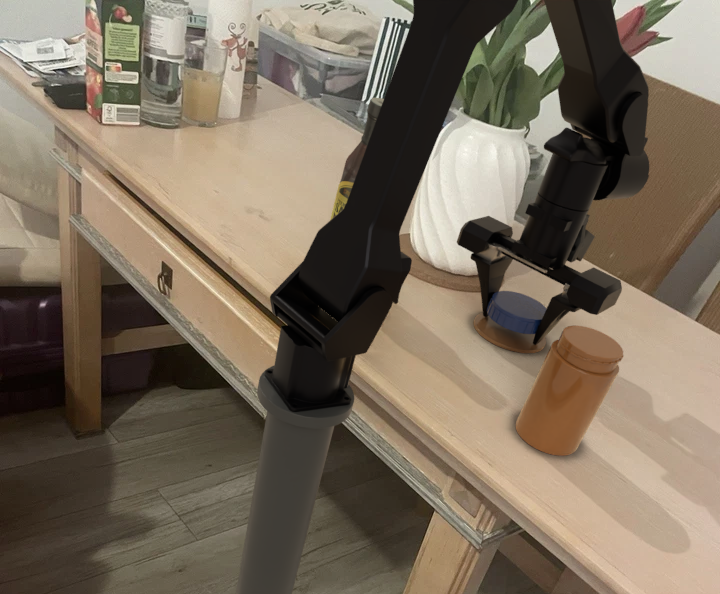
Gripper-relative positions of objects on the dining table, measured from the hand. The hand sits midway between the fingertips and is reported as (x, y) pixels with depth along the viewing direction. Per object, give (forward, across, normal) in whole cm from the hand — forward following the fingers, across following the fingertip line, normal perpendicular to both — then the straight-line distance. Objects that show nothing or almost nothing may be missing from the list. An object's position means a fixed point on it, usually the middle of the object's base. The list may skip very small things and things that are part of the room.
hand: (510, 329), depth 84 cm
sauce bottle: (+1, +19, +9) cm, 21 cm away
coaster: (0, 0, 0) cm, 0 cm away
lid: (-3, 0, 0) cm, 3 cm away
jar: (0, -14, +16) cm, 21 cm away
